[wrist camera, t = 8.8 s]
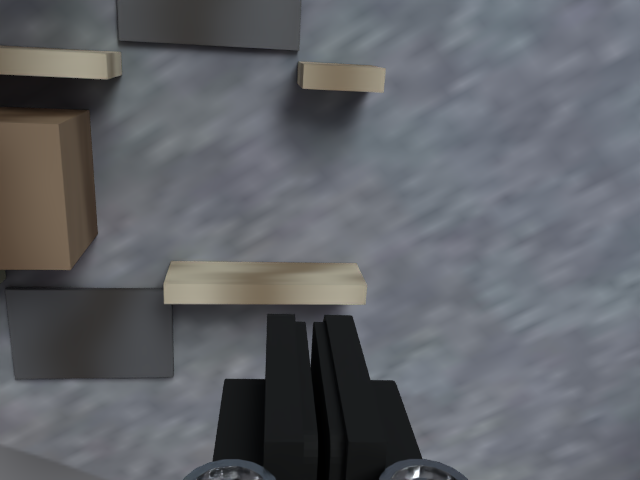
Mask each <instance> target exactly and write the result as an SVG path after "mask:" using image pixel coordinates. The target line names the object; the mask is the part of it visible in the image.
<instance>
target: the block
mask: <svg viewBox="0 0 640 480" xmlns="http://www.w3.org/2000/svg"><path fill="white" fill-rule="evenodd" d="M97 234H98V229H97V215H96V200H95V185H94V170H93V155H92V141H91V126H90V111H89V110H77V109H51V108H24V107H0V270H71V269H72V268H73V266H74V265H75V264H76V262H77V261H78V260H79V258H80V257H81V256H82V254H83V253H84V252H85V250H86V249H87V248H88V246H89V245H90V244H91V242H92V241H93V240H94V238H95V237H96V236H97Z"/></svg>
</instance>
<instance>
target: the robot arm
mask: <svg viewBox="0 0 640 480" xmlns="http://www.w3.org/2000/svg"><path fill="white" fill-rule="evenodd" d="M183 480H468V479H467V478H466V477H465V476H464V475H462V474H461V473H460V472H458V471H457V470H455V469H454V468H452V467H450V466H447V465H445V464H442V463H440V462H436V461H431V460H426V459H422V456H421V453H420V450H419V448H418V445H417V442H416V439H415V436H414V433H413V430H412V428H411V425H410V422H409V419H408V416H407V413H406V411H405V408H404V405H403V402H402V399H401V396H400V393H399V391H398V388H397V385H396V383H395V381H392V380H370V377H369V373H368V370H367V366H366V363H365V359H364V355H363V352H362V348H361V345H360V341H359V338H358V334H357V330H356V327H355V323H354V320H353V317H352V316H349V315H324V320H323V322H314V323H313V335H312V353H311V368H310V359H309V350H308V340H307V331H306V323H305V322H295V314H267V342H266V375H265V379H225V380H224V386H223V393H222V400H221V407H220V414H219V421H218V428H217V435H216V441H215V448H214V455H213V462H209V463H207V464H205V465H203V466H200V467H198V468H196V469H195V470H193V471H192V472H191V473H190V474H188V475H187V476H186V477H185V478H184V479H183Z"/></svg>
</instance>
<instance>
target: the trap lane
mask: <svg viewBox="0 0 640 480" xmlns="http://www.w3.org/2000/svg"><path fill="white" fill-rule="evenodd" d="M117 8H118V30H119V40H121V41H139V42H157V43H175V44H193V45H210V46H228V47H246V48H264V49H282V50H299V44H300V20H301V0H117ZM385 70H386V69H385V68H381V67H376V66H372V65H353V64H335V63H316V62H298V79H297V84H298V85H299V86H300V87H301V88H303V89H318V90H339V91H360V92H381V93H384V81H385ZM0 74H5V75H26V76H47V77H68V78H89V79H111V78H114V77H117V76H120V75H122V65H121V52H110V51H92V50H73V49H54V48H36V47H17V46H0ZM5 279H6V273H5V270H0V284H1V283H2V282H3V281H4V280H5ZM366 291H367V284H366V282H365V280H364V278H363V276H362V274H361V272H360V270H359V268H358V266H357V264H356V263H287V262H201V261H171V263H170V266H169V269H168V272H167V275H166V278H165V281H164V289H162V288H6V289H5V295H6V304H7V313H8V321H9V330H10V338H11V347H12V355H13V364H14V372H15V379H61V378H146V377H173V376H174V357H173V314H172V304H339V305H365V303H366Z"/></svg>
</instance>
